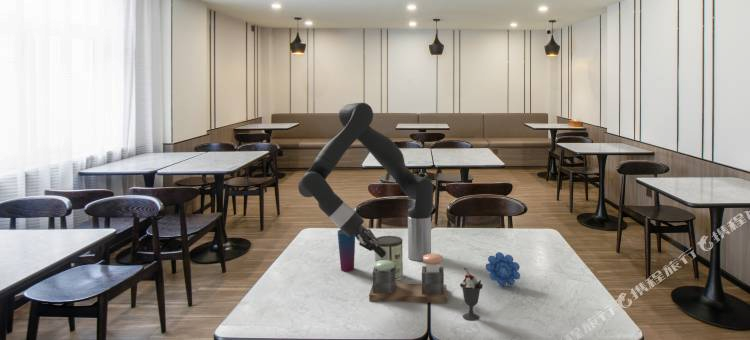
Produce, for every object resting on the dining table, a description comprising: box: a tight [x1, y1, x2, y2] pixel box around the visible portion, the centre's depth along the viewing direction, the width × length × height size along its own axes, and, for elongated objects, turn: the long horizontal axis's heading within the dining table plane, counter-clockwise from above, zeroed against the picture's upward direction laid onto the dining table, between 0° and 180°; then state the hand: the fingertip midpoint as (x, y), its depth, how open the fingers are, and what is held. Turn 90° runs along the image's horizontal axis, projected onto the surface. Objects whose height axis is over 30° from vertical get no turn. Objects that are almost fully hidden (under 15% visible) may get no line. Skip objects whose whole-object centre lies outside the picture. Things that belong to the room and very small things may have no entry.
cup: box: [337, 229, 356, 272], centre depth 200 cm, size 7×7×15 cm
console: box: [368, 265, 448, 304], centre depth 174 cm, size 25×11×9 cm, turn 83°
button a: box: [374, 260, 394, 272], centre depth 174 cm, size 6×6×8 cm
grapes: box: [485, 251, 521, 287], centre depth 179 cm, size 12×7×12 cm, turn 80°
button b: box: [422, 253, 444, 273], centre depth 172 cm, size 6×6×8 cm
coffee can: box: [374, 235, 404, 282], centre depth 191 cm, size 10×10×14 cm
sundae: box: [459, 267, 483, 322], centre depth 156 cm, size 7×7×15 cm
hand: (384, 255), depth 173 cm, fingers closed
